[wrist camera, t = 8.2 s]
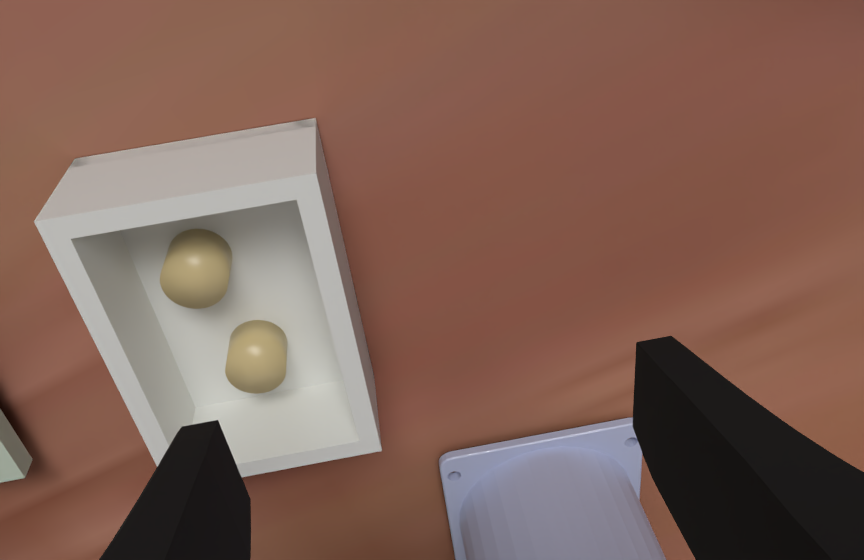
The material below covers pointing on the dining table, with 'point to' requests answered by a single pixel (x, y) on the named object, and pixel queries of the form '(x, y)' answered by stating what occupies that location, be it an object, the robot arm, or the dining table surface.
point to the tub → (221, 293)
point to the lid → (12, 453)
